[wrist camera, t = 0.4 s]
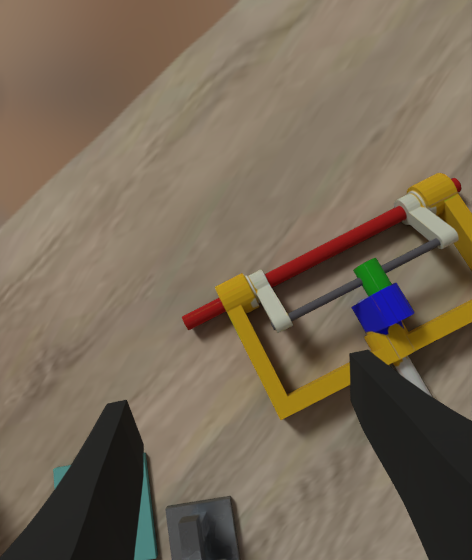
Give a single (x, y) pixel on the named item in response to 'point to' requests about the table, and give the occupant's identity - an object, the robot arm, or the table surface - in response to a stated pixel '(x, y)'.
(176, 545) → the rail holder
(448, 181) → the mechanical clamp
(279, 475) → the table surface
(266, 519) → the table surface
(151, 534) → the teal mat
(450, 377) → the table surface
